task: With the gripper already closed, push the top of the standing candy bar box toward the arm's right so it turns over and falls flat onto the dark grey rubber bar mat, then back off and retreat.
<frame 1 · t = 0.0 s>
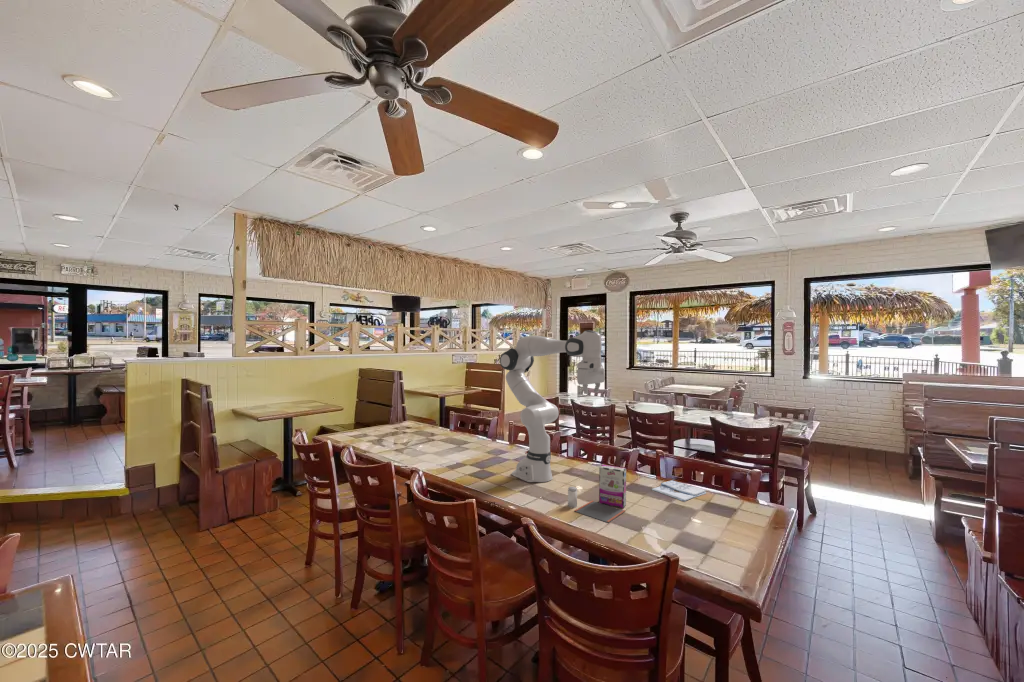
hand: (591, 392, 194), 48 cm above the table, fingers open, 8 cm apart
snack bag: (677, 492, 198), on the table
salt shaker: (572, 505, 179), on the table
bar mat: (600, 511, 173), on the table
candy bar box: (612, 504, 181), on the table
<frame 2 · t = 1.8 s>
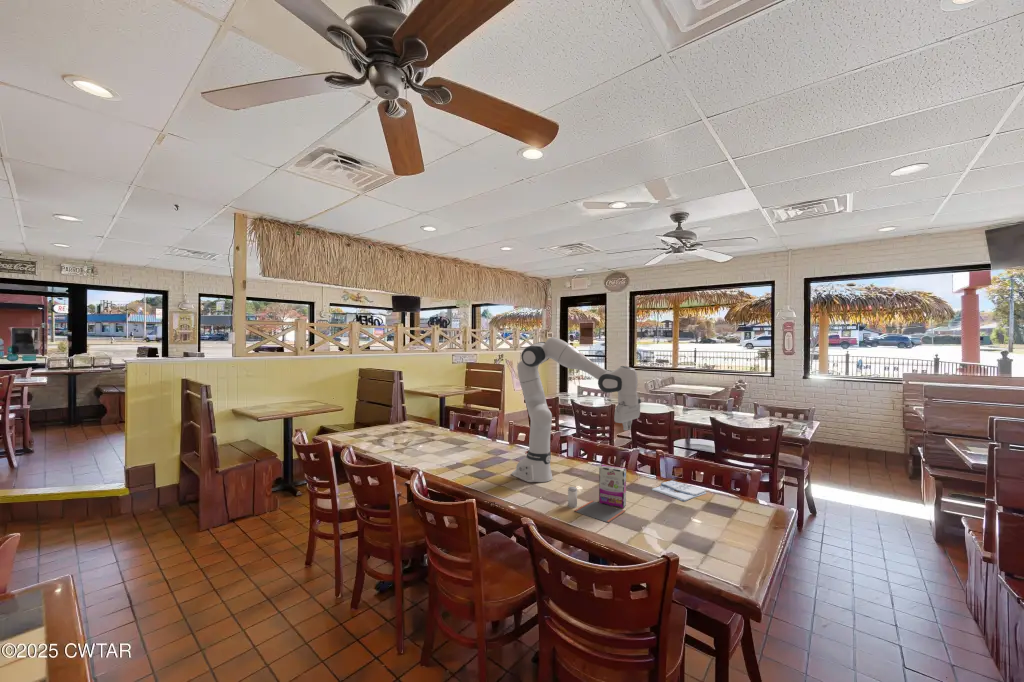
hand: (627, 429, 192), 31 cm above the table, fingers closed
nothing on the table moved.
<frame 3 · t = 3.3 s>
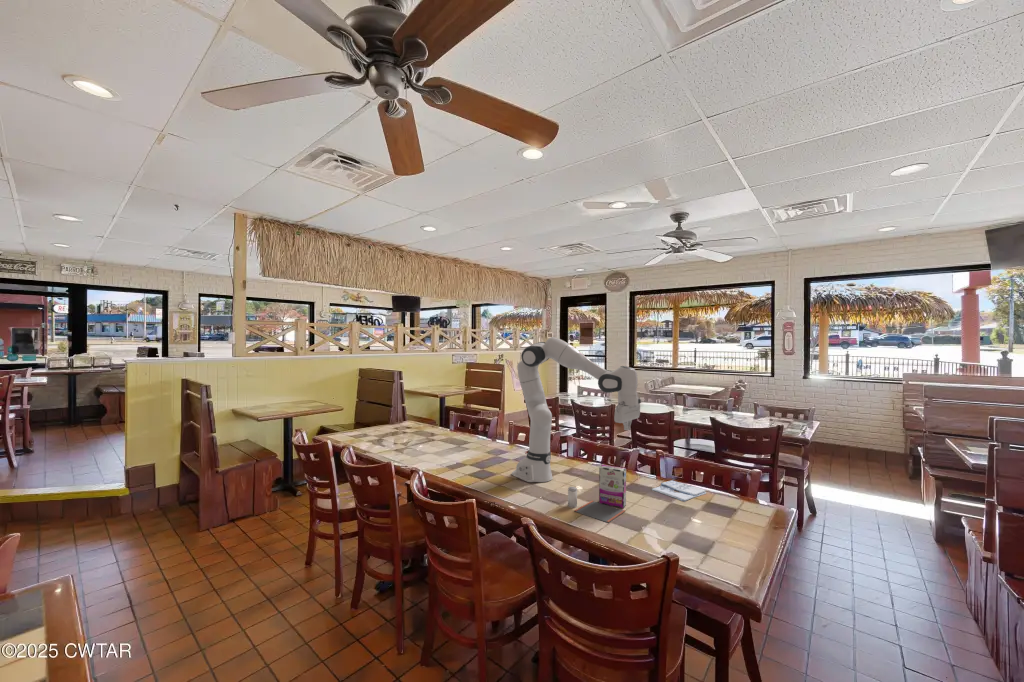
hand: (627, 429, 192), 31 cm above the table, fingers closed
nothing on the table moved.
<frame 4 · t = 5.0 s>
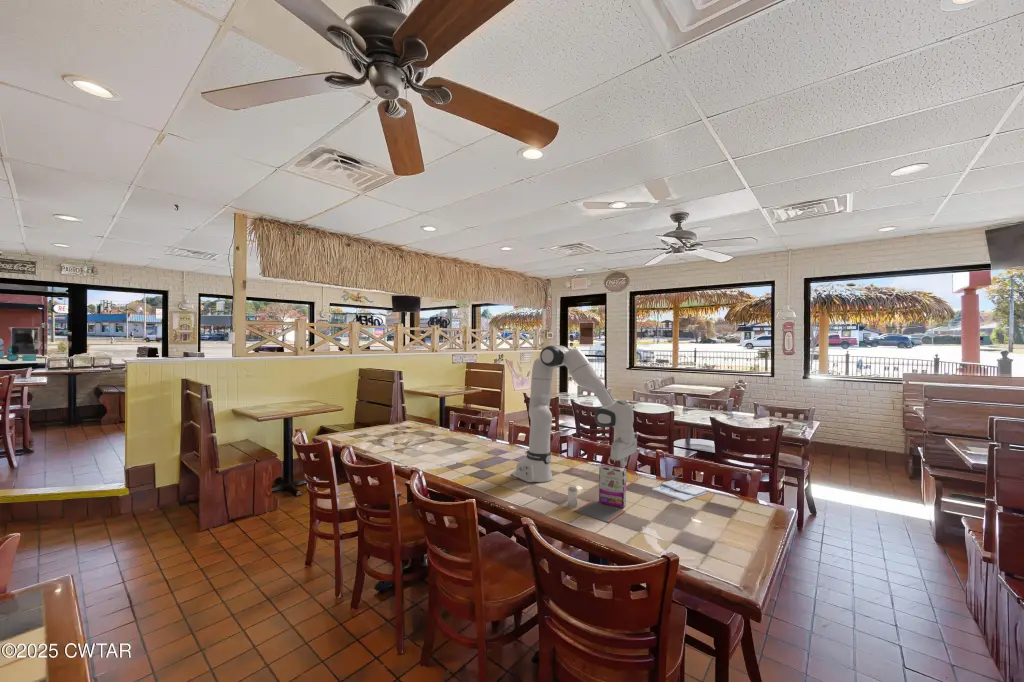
hand: (623, 465, 189), 15 cm above the table, fingers closed
nothing on the table moved.
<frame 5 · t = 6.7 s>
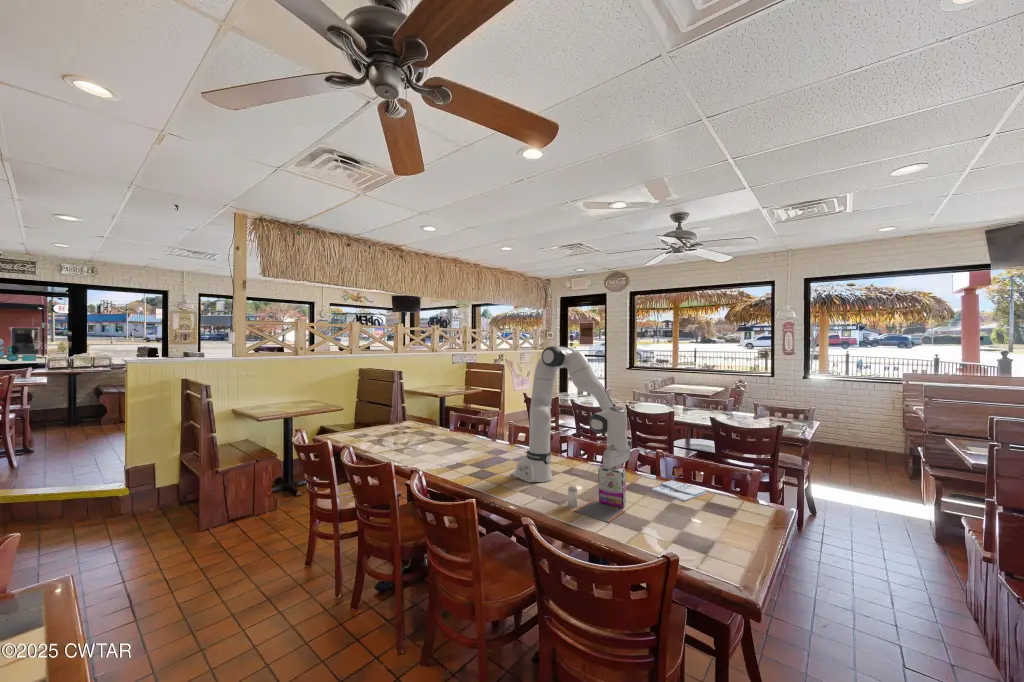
hand: (616, 473, 184), 13 cm above the table, fingers closed
candy bar box: (612, 503, 181), on the table, touching gripper
everything else where it was.
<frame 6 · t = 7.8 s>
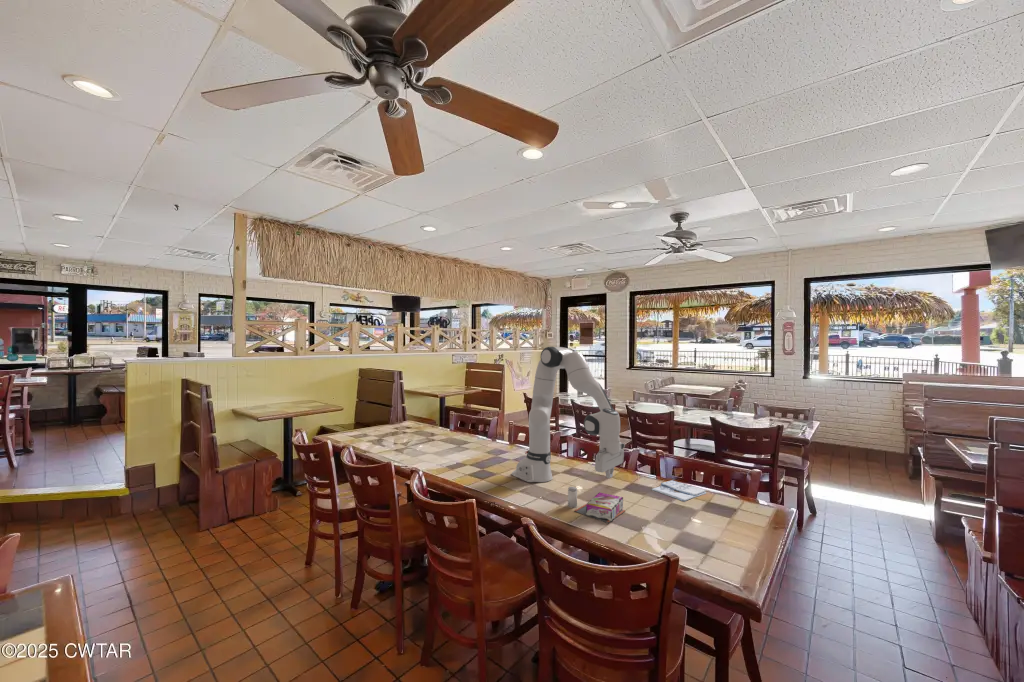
hand: (609, 477, 179), 13 cm above the table, fingers closed
candy bar box: (611, 499, 180), point 3 cm above the table, touching bar mat
everything else where it was.
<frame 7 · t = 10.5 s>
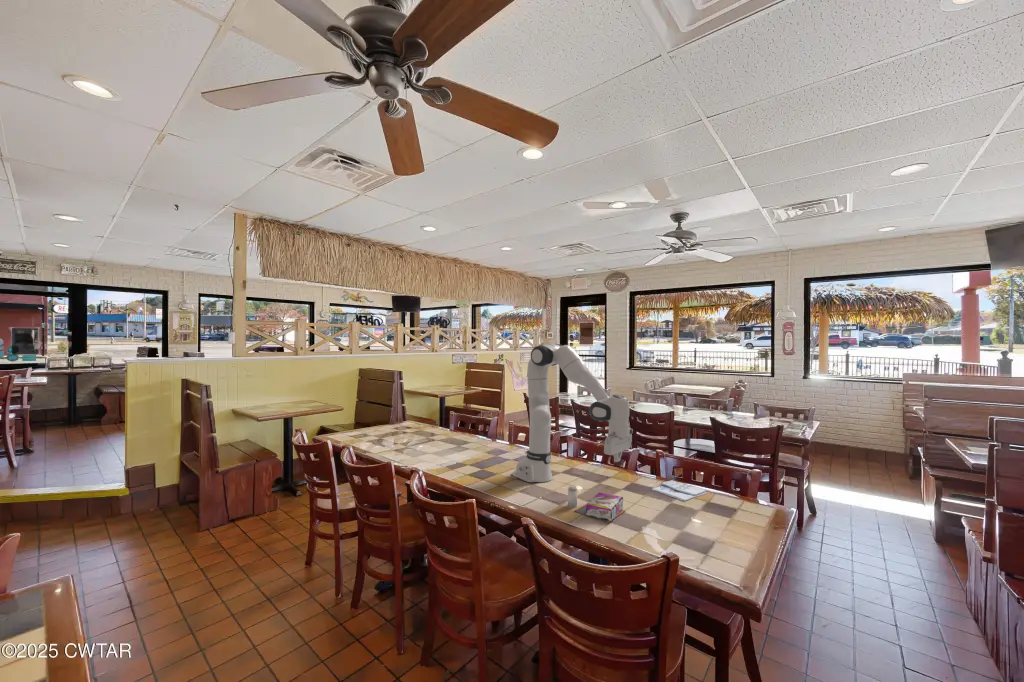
hand: (617, 461, 185), 18 cm above the table, fingers closed
nothing on the table moved.
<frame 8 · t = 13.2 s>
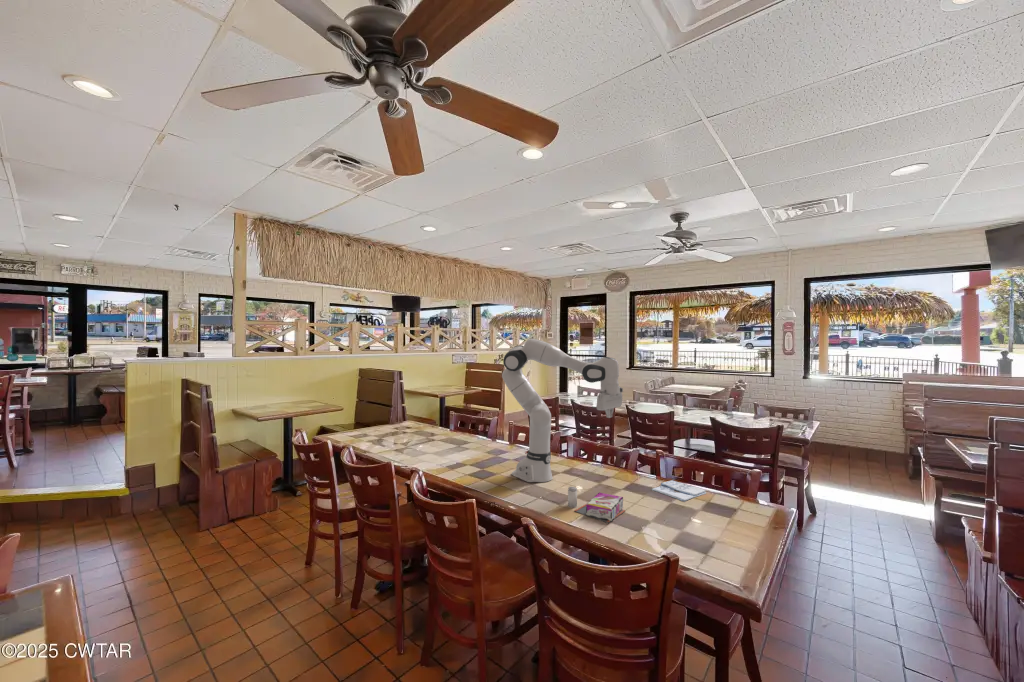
hand: (609, 417, 201), 35 cm above the table, fingers closed
nothing on the table moved.
at the end: candy bar box tilted 90°; candy bar box 9.1 cm from the bar mat (horizontally); the gripper is holding nothing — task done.
